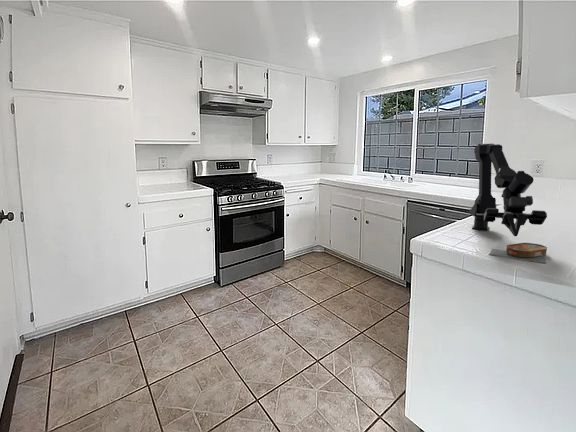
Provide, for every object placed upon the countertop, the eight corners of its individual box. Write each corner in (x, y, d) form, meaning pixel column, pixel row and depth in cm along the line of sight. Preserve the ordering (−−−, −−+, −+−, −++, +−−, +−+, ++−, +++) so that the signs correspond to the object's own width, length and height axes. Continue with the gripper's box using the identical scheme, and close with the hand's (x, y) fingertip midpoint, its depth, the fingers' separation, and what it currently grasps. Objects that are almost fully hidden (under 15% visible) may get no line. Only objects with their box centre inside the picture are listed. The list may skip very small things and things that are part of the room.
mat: (491, 249, 123) (492, 248, 123) (545, 257, 114) (545, 256, 114) (489, 254, 117) (489, 254, 117) (545, 263, 108) (545, 262, 108)
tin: (528, 241, 123) (553, 246, 115) (527, 249, 123) (552, 254, 115) (500, 245, 117) (525, 250, 110) (500, 254, 118) (524, 259, 110)
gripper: (488, 187, 122) (490, 222, 114) (549, 188, 115) (555, 226, 107) (482, 204, 131) (484, 237, 123) (539, 206, 124) (544, 242, 116)
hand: (515, 235), depth 117 cm, fingers closed
